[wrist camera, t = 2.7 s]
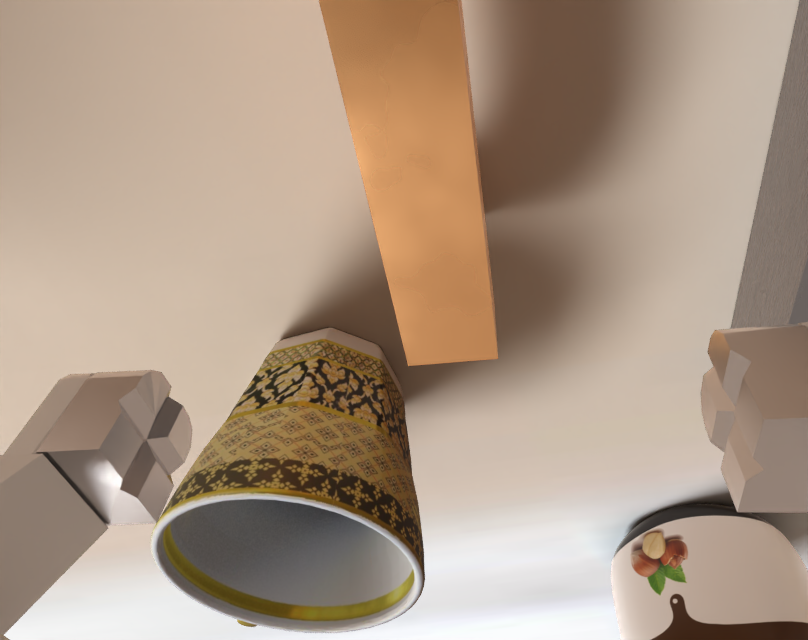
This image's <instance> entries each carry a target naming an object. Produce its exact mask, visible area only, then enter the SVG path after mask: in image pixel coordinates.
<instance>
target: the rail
mask: <svg viewBox="0 0 808 640" xmlns="http://www.w3.org/2000/svg"><path fill="white" fill-rule="evenodd" d="M805 322H808V0H800V2H799V7H798V12H797V16H796V21H795V26H794V31H793V35H792V40H791V45H790V50H789V54H788V59H787V64H786V69H785V73H784V78H783V83H782V88H781V92H780V97H779V102H778V107H777V111H776V116H775V121H774V126H773V130H772V135H771V140H770V145H769V149H768V154H767V159H766V164H765V168H764V173H763V178H762V183H761V187H760V192H759V197H758V202H757V206H756V211H755V216H754V221H753V225H752V230H751V235H750V240H749V244H748V249H747V254H746V259H745V263H744V268H743V273H742V278H741V282H740V287H739V292H738V297H737V301H736V306H735V311H734V316H733V320H732V325H731V329H735V328H747V327H760V326H773V325H786V324H798V323H805Z"/></svg>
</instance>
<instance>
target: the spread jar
mask: <svg viewBox="0 0 808 640" xmlns="http://www.w3.org/2000/svg"><path fill="white" fill-rule="evenodd" d="M611 586H612V594H613V600H614V606H615V611H616V616H617V621H618V626H619V631H620V640H808V570H807V568H806V566H805V565H804V563H803V561H802V559H801V558H800V556H799V554H798V553H797V551H796V550H795V548H794V547H793V546H792V545H791V543H790V542H789V541H788V539H787V538H786V537H785V536H784V535H783V534H782V533H781V532H780V531H779V530H778V529H776V528H775V527H774V526H773V525H771V524H770V523H769V522H767V521H766V520H764V519H762V518H761V517H759V516H757V515H755V514H753V513H750V512H737V510H736V508H734V507H729V506H724V505H717V504H688V505H682V506H677V507H673V508H669V509H666V510H663V511H660V512H658V513H656V514H654V515H652V516H650V517H648V518H647V519H645V520H644V521H642V522H641V523H640V524H638V525H637V526H636V527H635V528H634V529H632V530H631V531H630V532H629V533H628V534H627V535H626V537H625V538H624V539H623V540H622V542H621V543H620V545H619V546H618V548H617V550H616V552H615V554H614V557H613V560H612V564H611Z"/></svg>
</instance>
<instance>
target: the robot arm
mask: <svg viewBox="0 0 808 640" xmlns="http://www.w3.org/2000/svg"><path fill="white" fill-rule="evenodd" d="M708 354H709V357H710V359H711V361H712V364H713V366H714V367H713V368H711V369H710V370H709V371H708V372H707V373H706V374H705V375H703V381H702V388H701V406H702V415H703V419H704V424H705V428H706V430H707V433H708V436H709V439H710V442H711V443H713V444H714V445H715V446H717V447H718V448H719V449H721V450H722V451H723V452H725V453H724V457H723V461H722V466H721V471H722V474H723V476H724V479H725V482H726V484H727V487H728V490H729V492H730V495H731V497H732V500H733V503H734V505H735V508H736V510H737V512H774V513H808V322H805V323H798V324H786V325H773V326H760V327H747V328H735V329H722V330H715V331H714V333H713V334H712V336H711V338H710V343H709V348H708ZM170 390H171V385H170V384H169V382H168V381H167V379H166V378H165V376H164V375H163V374H162V372H158V371H153V370H143V371H121V372H98V373H94V374H70V375H68V376H66V377H64V378H62V379H60V380H59V381H58V382H57V384H56V385H55V386H54V388H53V389H52V390H51V392H50V393H49V394H48V396H47V397H46V398H45V400H44V401H43V402H42V404H41V405H40V406H39V408H38V409H37V410H36V412H35V413H34V414H33V416H32V417H31V418H30V420H29V421H28V422H27V424H26V425H25V426H24V428H23V429H22V431H21V432H20V433H19V435H18V436H17V437H16V439H15V440H14V441H13V443H12V444H11V445H10V447H9V448H8V449H7V451H6V452H5V453H4V455H0V640H9V639H8V638H6V637H5V636H4V634H5V633H6V632H7V631H8V630H9V629H10V628H11V627H12V626H13V625H14V624H15V623H16V622H17V621H18V620H19V619H20V618H21V617H22V616H23V615H24V614H25V613H26V612H27V611H28V609H29V608H30V607H31V606H32V605H33V604H34V603H35V602H36V601H37V600H38V599H39V598H40V597H41V596H42V595H43V594H44V593H45V592H46V591H47V590H48V589H49V588H50V587H51V586H52V585H53V584H54V583H55V582H56V581H57V580H58V579H59V578H60V577H61V576H62V575H63V574H64V573H65V572H66V571H67V570H68V569H69V568H70V567H71V566H72V565H73V564H74V563H75V562H76V561H77V560H78V559H79V558H80V557H81V556H82V555H83V553H84V552H85V551H86V550H87V549H88V548H89V547H90V546H91V545H92V544H93V543H94V542H95V541H96V540H97V539H98V538H99V537H100V536H101V535H102V534H103V533H104V532H105V531H106V530H107V529H108V527H107V526H108V525H128V524H149V523H157V522H158V520H159V517H160V515H161V513H162V511H163V509H164V506H165V504H166V502H167V500H168V498H169V495H170V493H171V491H172V489H173V487H174V485H173V482H172V479H171V475H170V474H172V473H173V472H174V471H175V470H176V469H177V468H179V467H180V466H181V465H182V464H183V463H184V462H185V460H186V457H187V455H188V453H189V450H190V448H191V439H192V426H191V422H190V418H189V415H188V414H187V412H186V410H185V408H184V407H183V406H182V405H181V404H179V403H178V402H176V401H174V400H173V399H171V398H170V397H169V393H170Z"/></svg>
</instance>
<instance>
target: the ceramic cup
mask: <svg viewBox="0 0 808 640" xmlns="http://www.w3.org/2000/svg"><path fill="white" fill-rule="evenodd" d="M151 552H152V555H153V559H154V561H155V563H156V565H157V566H158V568H159V569H160V571H161V572H162V574H163V575H164V576H165V577H166V578H167V579H168V580H169V581H170V583H172V584H173V585H174V586H175V587H176V588H177V589H179V590H180V591H181V592H183V593H184V594H185V595H187V596H188V597H190V598H191V599H193V600H195V601H196V602H198V603H200V604H202V605H204V606H205V607H208V608H210V609H212V610H214V611H216V612H219V613H221V614H224V615H226V616H229V617H232V618H235V619H237V621H238V623H240V624H241V625H244V626H248V627H254V626H257V625H259V626H264V627H268V628H273V629H279V630H285V631H295V632H305V633H338V632H348V631H356V630H361V629H366V628H371V627H374V626H377V625H380V624H383V623H386V622H388V621H390V620H392V619H395V618H397V617H398V616H400V615H402V614H403V613H405V612H406V611H407V610H409V609H410V608H411V607H412V606H413V605H414V604H415V603H416V601H417V600H418V598H419V597H420V595H421V593H422V590H423V587H424V581H425V572H424V549H423V540H422V531H421V523H420V515H419V507H418V500H417V496H416V491H415V486H414V482H413V477H412V468H411V456H410V449H409V441H408V434H407V426H406V419H405V408H404V401H403V394H402V388H401V385H400V383H399V381H398V379H397V377H396V376H395V374H394V372H393V370H392V368H391V366H390V364H389V363H388V361H387V359H386V357H385V355H384V353H383V352H382V350H381V348H380V346H378V345H377V344H374V343H372V342H369V341H366V340H364V339H361V338H358V337H356V336H353V335H350V334H348V333H345V332H342V331H340V330H337V329H334V328H325V329H321V330H317V331H313V332H309V333H305V334H302V335H298V336H294V337H290V338H286V339H283V340H281V341H279V342H277V343H276V344H275V346H274V347H273V349H272V350H271V352H270V353H269V355H268V356H267V357H266V359H265V360H264V362H263V364H262V366H261V367H260V369H259V371H258V372H257V374H256V375H255V376H254V378H253V380H252V381H251V383H250V384H249V386H248V387H247V389H246V390H245V392H244V393H243V395H242V397H241V398H240V400H239V401H238V403H237V404H236V406H235V408H234V409H233V411H232V412H231V414H230V416H229V417H228V419H227V420H226V422H225V423H224V424H223V425H222V427H221V428H220V429H219V430H218V432H217V433H216V434H215V435H214V437H213V438H212V439H211V440H210V442H209V443H208V444H207V446H206V447H205V448H204V450H203V451H202V452H201V454H200V455H199V457H198V458H197V460H196V461H195V463H194V464H193V466H192V467H191V469H190V470H189V472H188V473H187V475H186V476H185V478H184V479H183V481H182V482H181V484H180V485H179V487H178V488H177V490H176V492H175V493H174V495H173V497H172V498H171V500H170V502H169V503H168V505H167V507H166V508H165V510H164V512H163V513H162V515H161V517H160V518H159V520H158V522H157V523H156V525H155V527H154V530H153V532H152V536H151Z"/></svg>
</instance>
